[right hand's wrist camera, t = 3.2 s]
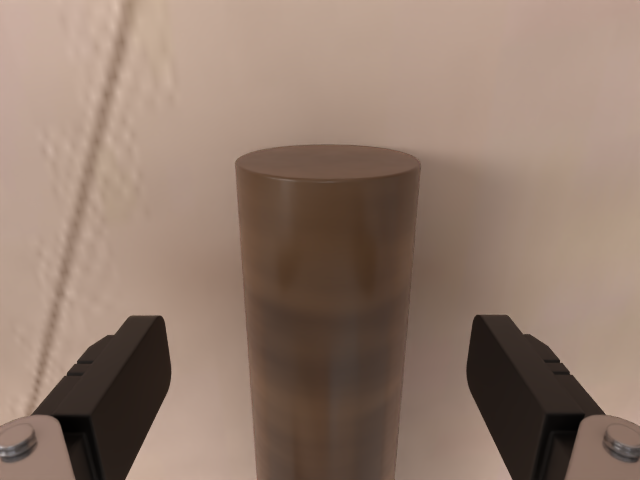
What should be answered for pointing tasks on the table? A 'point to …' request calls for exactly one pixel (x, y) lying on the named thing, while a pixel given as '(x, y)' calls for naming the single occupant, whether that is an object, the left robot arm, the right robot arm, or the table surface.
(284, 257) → the rod
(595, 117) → the table surface
